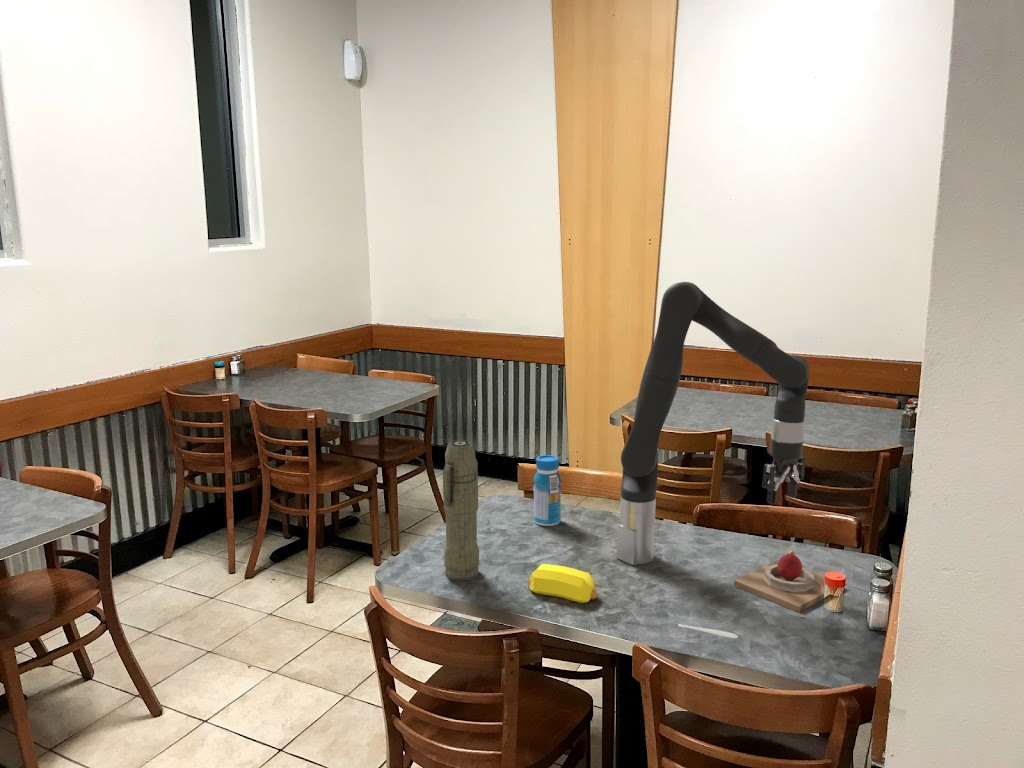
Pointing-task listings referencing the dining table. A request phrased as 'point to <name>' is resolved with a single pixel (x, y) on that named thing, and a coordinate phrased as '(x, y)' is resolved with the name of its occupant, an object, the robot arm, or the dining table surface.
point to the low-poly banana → (563, 583)
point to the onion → (789, 566)
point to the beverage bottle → (547, 491)
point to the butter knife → (711, 631)
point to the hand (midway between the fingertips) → (781, 500)
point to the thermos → (461, 511)
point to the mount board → (779, 595)
